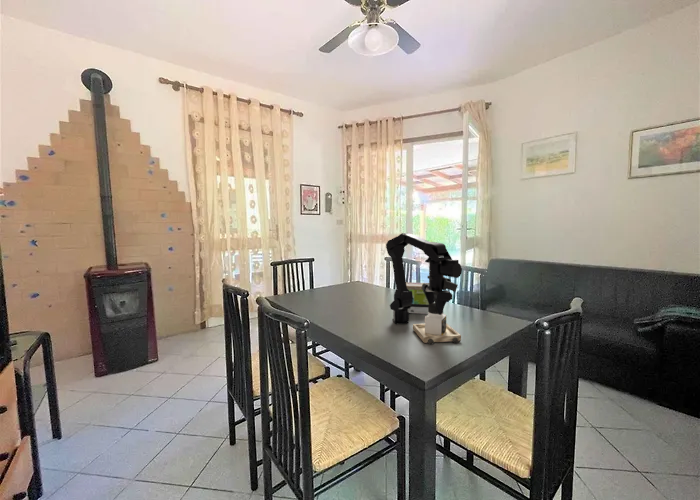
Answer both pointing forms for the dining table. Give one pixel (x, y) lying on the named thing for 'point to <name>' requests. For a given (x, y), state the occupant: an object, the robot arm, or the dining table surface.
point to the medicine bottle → (435, 321)
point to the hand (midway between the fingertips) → (435, 311)
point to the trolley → (429, 338)
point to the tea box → (417, 298)
